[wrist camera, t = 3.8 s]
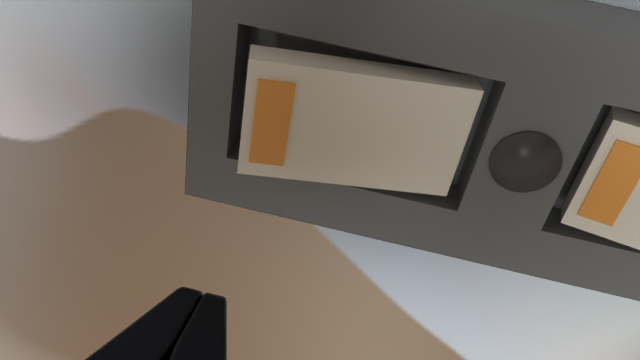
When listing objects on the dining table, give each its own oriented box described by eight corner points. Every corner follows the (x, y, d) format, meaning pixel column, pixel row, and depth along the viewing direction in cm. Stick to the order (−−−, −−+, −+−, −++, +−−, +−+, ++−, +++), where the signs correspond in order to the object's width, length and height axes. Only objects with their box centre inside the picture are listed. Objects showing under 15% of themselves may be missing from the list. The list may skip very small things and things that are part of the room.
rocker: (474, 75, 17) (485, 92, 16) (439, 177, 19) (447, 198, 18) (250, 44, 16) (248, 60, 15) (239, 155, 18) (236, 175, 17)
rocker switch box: (910, 69, 16) (999, 119, 14) (748, 273, 21) (791, 338, 18) (228, -76, 17) (193, -55, 15) (213, 149, 22) (183, 195, 19)
